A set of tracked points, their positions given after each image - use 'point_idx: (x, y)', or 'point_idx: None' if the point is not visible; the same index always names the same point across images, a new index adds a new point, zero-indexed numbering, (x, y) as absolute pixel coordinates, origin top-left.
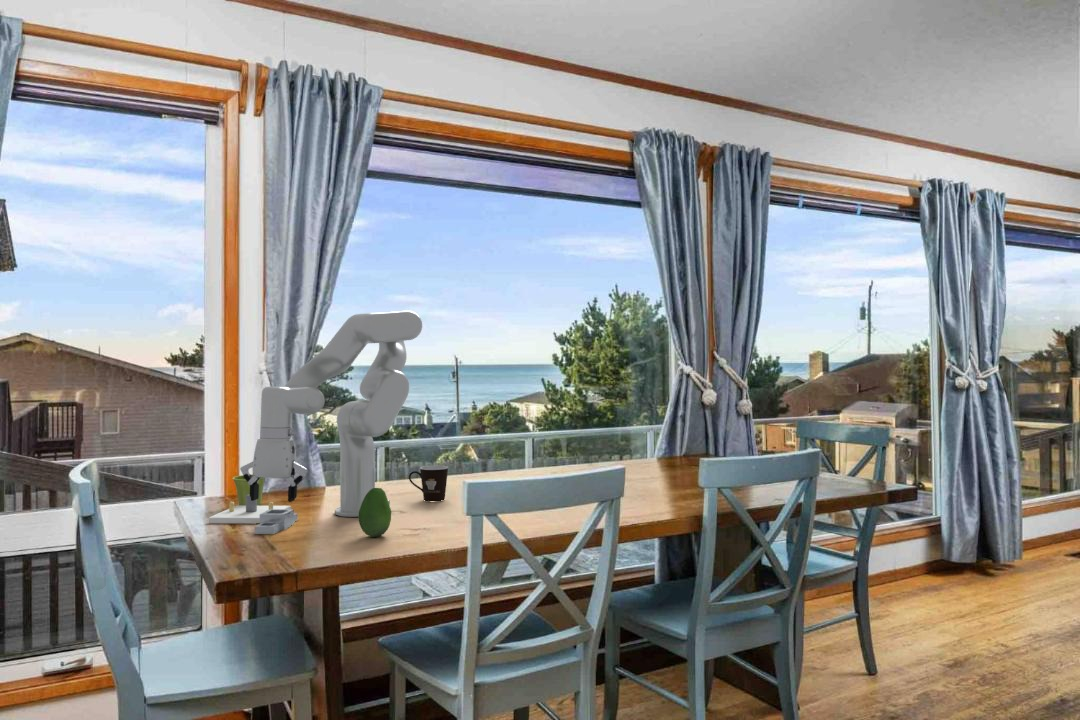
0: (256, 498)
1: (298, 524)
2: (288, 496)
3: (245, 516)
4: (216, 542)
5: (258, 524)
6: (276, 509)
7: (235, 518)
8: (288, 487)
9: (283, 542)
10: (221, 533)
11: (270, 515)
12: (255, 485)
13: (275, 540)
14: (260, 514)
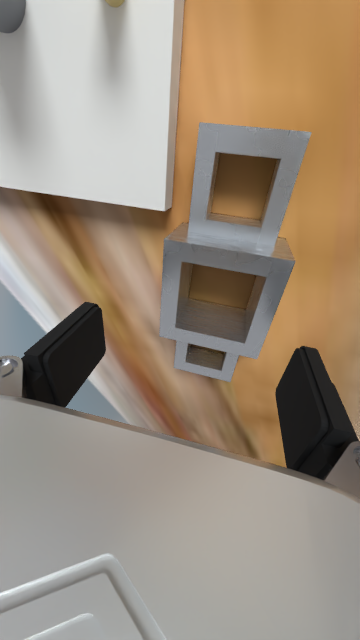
0: (100, 328)
1: (307, 238)
2: (281, 414)
3: (54, 165)
4: (124, 389)
5: (176, 349)
6: (200, 253)
7: (34, 191)
8: (287, 467)
9: (267, 426)
10: None
11: (201, 342)
12: (59, 399)
13: (246, 409)
14: (162, 336)
